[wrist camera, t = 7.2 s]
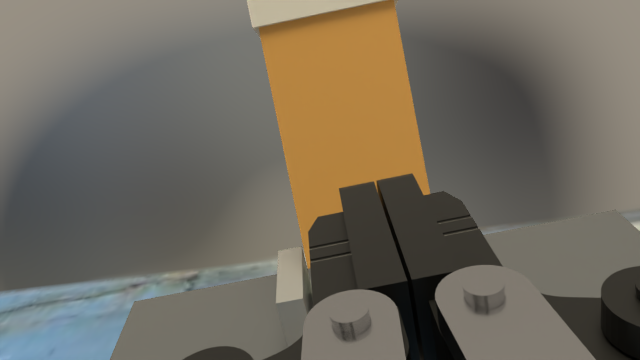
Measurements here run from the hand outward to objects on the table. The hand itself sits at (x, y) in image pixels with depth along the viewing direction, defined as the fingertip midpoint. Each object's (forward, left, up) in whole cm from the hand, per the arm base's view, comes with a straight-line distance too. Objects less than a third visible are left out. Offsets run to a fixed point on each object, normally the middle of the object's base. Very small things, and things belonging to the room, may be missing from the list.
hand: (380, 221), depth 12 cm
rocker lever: (0, +8, -9) cm, 12 cm away
